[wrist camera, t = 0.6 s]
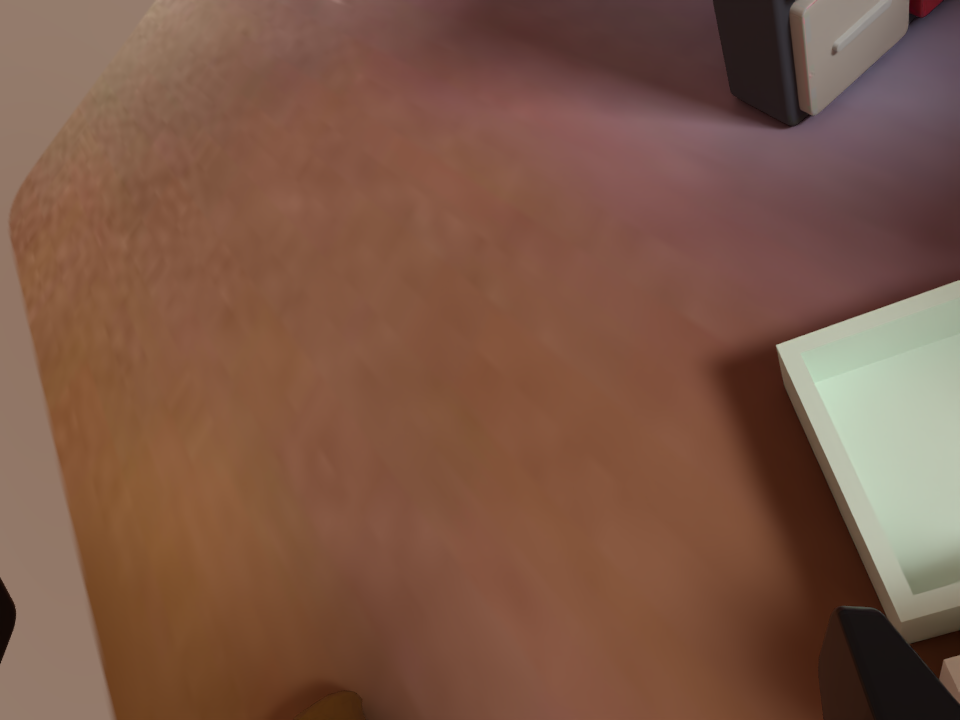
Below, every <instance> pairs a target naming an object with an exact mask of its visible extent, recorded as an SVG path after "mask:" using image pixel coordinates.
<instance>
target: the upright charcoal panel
mask: <svg viewBox="0 0 960 720" xmlns="http://www.w3.org/2000/svg"><path fill="white" fill-rule="evenodd" d="M942 1H943V0H713V4H714V9H715V14H716V19H717V24H718V29H719V34H720V39H721V45H722V50H723V55H724V60H725V65H726V70H727V75H728V81H729V86H730V90H731V93H732V95H734V96H735V97H737V98H739V99H741V100H742V101H744V102H746V103H748V104H750V105H752V106H754V107H755V108H757V109H759V110H761V111H763V112H765V113H766V114H768V115H770V116H772V117H774V118H776V119H778V120H780V121H782V122H784V123H785V124H787V125H790V126H794V125H797V124H798V123H799V122H801V121H802V120H803V119H804V118H805V117H806V116H807V115H808V114H810V115H812V116H815V115H817V114H818V113H819V112H821V111H822V110H823V109H824V108H825V107H826V106H827V105H829V104H830V103H831V102H832V101H833V100H834V99H835V98H836V97H837V96H838V95H840V94H841V93H842V92H843V91H844V90H845V89H846V88H847V87H848V86H849V85H851V84H852V83H853V82H854V81H855V80H856V79H857V78H858V77H859V76H860V75H862V74H863V73H864V72H865V71H866V70H867V69H868V68H869V67H870V66H872V65H873V64H874V63H875V62H876V61H877V60H878V59H879V58H880V57H881V56H883V55H884V54H885V53H886V52H887V51H888V50H889V49H890V48H891V47H892V46H894V45H895V44H896V43H897V42H898V41H899V40H900V39H901V38H902V37H903V36H904V35H905V34H906V32H907V30H908V24H909V23H910V22H911V21H912V20H913V19H914V18H916V17H917V16H918V17H920V18H923V17H925V16H926V15H928V14H929V13H930V12H931V11H932V10H933V9H934V8H935V7H937V6H938V5H939V4H940V3H941V2H942Z"/></svg>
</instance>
